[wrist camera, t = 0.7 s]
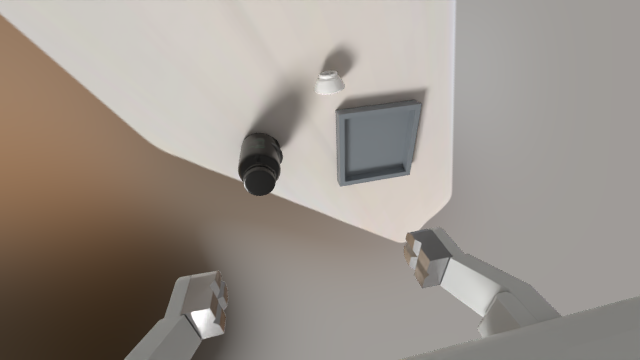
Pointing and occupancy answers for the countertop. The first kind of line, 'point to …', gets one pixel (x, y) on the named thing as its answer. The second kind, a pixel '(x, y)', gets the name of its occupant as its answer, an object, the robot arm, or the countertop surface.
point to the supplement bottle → (259, 164)
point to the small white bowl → (329, 83)
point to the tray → (376, 141)
